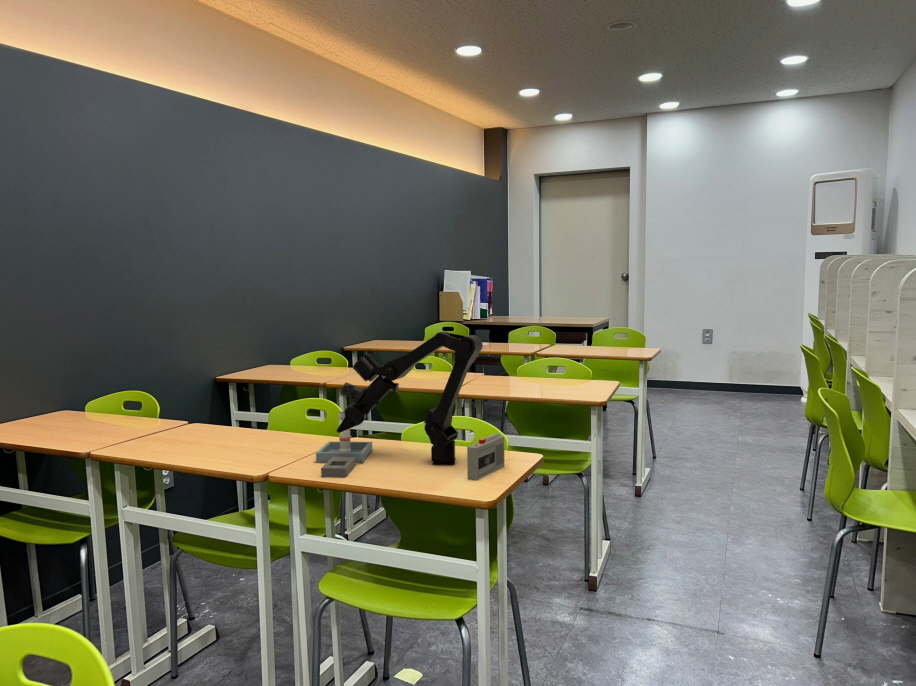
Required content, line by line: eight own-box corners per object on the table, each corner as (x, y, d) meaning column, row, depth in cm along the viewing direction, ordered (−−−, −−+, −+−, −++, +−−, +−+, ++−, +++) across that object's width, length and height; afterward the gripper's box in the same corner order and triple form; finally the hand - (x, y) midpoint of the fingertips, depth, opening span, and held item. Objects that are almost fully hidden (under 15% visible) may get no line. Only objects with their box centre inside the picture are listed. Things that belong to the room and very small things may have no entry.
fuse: (352, 452, 203) (351, 411, 201) (349, 455, 199) (348, 413, 198) (341, 452, 203) (340, 411, 202) (338, 455, 199) (337, 413, 198)
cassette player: (476, 481, 176) (475, 444, 175) (467, 479, 177) (467, 443, 176) (504, 467, 189) (504, 432, 188) (496, 465, 190) (496, 431, 189)
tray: (372, 451, 208) (372, 441, 207) (362, 463, 194) (362, 453, 193) (329, 450, 209) (328, 441, 208) (316, 462, 195) (316, 452, 194)
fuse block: (356, 465, 192) (356, 456, 192) (346, 477, 180) (346, 468, 180) (332, 464, 192) (332, 456, 192) (321, 477, 180) (321, 468, 180)
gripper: (360, 369, 208) (326, 404, 209) (351, 378, 189) (314, 416, 190) (385, 394, 209) (351, 428, 210) (379, 405, 190) (342, 442, 191)
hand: (340, 428), depth 200 cm, fingers open, 9 cm apart
